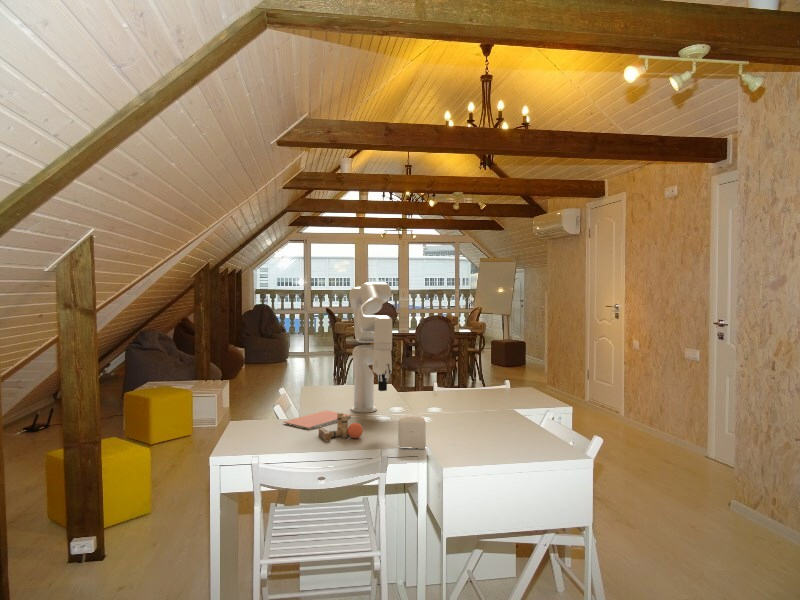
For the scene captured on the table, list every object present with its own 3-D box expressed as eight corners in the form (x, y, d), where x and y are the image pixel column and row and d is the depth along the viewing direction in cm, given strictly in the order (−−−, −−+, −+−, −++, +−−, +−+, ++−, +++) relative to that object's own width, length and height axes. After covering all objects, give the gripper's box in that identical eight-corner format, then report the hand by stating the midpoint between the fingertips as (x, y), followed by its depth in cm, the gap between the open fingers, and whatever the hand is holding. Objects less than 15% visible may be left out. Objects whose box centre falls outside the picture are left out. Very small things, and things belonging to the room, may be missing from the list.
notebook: (310, 432, 222) (310, 427, 222) (282, 425, 232) (282, 421, 232) (353, 419, 245) (353, 414, 245) (326, 413, 254) (326, 409, 254)
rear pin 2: (340, 437, 213) (340, 416, 213) (346, 436, 214) (346, 415, 214) (342, 438, 211) (342, 417, 211) (348, 438, 212) (348, 416, 212)
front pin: (348, 433, 217) (328, 435, 214) (348, 428, 217) (328, 430, 213) (350, 436, 215) (330, 438, 212) (350, 431, 215) (330, 433, 211)
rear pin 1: (336, 433, 218) (336, 413, 218) (342, 433, 219) (342, 412, 219) (338, 435, 216) (338, 414, 215) (344, 434, 217) (344, 414, 216)
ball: (342, 430, 210) (351, 418, 212) (347, 434, 215) (356, 422, 217) (353, 439, 207) (363, 426, 209) (358, 442, 213) (367, 430, 214)
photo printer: (398, 449, 198) (398, 416, 198) (398, 446, 202) (398, 413, 202) (425, 450, 198) (426, 416, 197) (425, 446, 202) (425, 414, 202)
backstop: (318, 435, 215) (318, 428, 215) (323, 434, 216) (323, 427, 216) (325, 441, 207) (325, 433, 207) (330, 440, 208) (330, 433, 208)
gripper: (367, 345, 227) (367, 388, 227) (381, 348, 213) (381, 394, 214) (384, 344, 230) (383, 386, 230) (398, 348, 217) (398, 393, 217)
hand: (382, 390), depth 222 cm, fingers closed
